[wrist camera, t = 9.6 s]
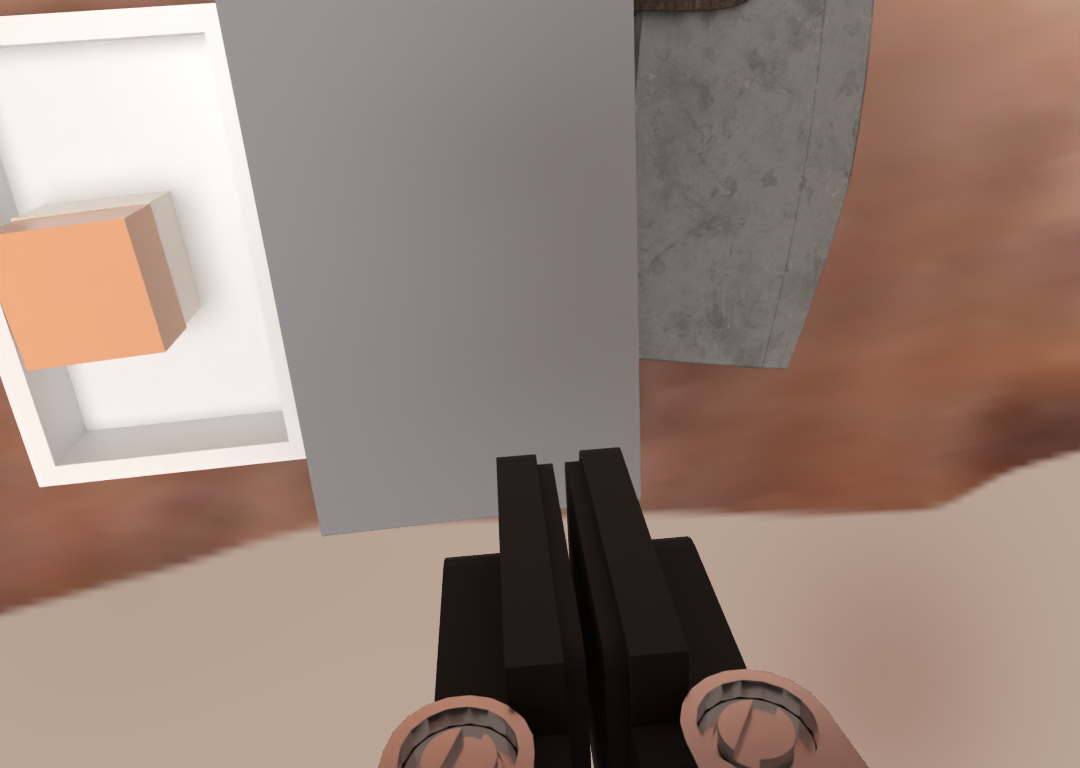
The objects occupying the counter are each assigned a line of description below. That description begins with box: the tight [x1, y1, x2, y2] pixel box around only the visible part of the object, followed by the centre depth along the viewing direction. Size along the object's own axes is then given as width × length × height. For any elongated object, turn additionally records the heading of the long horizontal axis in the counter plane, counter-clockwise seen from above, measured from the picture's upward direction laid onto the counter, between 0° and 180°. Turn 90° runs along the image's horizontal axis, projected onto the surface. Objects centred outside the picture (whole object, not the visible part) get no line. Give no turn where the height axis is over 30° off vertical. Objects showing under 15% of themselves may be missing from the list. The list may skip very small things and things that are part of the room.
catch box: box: [0, 3, 306, 487], centre depth 30 cm, size 10×16×4 cm, turn 4°
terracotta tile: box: [0, 204, 187, 371], centre depth 27 cm, size 4×4×2 cm
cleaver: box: [634, 0, 874, 368], centre depth 30 cm, size 29×10×2 cm, turn 0°
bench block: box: [215, 0, 641, 536], centre depth 29 cm, size 12×20×6 cm, turn 4°
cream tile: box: [11, 191, 201, 324], centre depth 30 cm, size 4×4×2 cm
